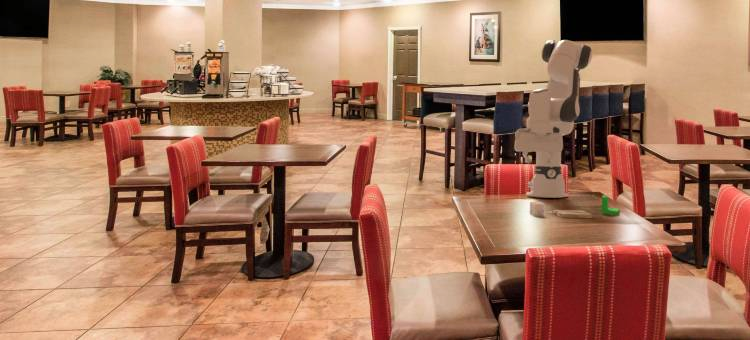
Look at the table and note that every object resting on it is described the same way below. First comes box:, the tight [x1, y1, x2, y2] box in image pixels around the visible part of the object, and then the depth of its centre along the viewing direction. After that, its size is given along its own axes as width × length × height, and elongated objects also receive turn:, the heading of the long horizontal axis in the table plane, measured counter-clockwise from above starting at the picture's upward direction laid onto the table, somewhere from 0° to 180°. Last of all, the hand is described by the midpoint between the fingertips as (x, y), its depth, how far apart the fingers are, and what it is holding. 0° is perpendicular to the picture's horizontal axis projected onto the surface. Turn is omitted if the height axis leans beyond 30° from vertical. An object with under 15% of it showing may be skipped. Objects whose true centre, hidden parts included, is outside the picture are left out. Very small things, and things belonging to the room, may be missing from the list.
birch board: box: [551, 209, 594, 219], centre depth 250 cm, size 14×12×2 cm
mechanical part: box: [601, 195, 620, 216], centre depth 258 cm, size 12×6×8 cm, turn 154°
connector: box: [529, 201, 545, 218], centre depth 249 cm, size 12×4×5 cm, turn 179°
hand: (538, 163), depth 250 cm, fingers open, 8 cm apart
